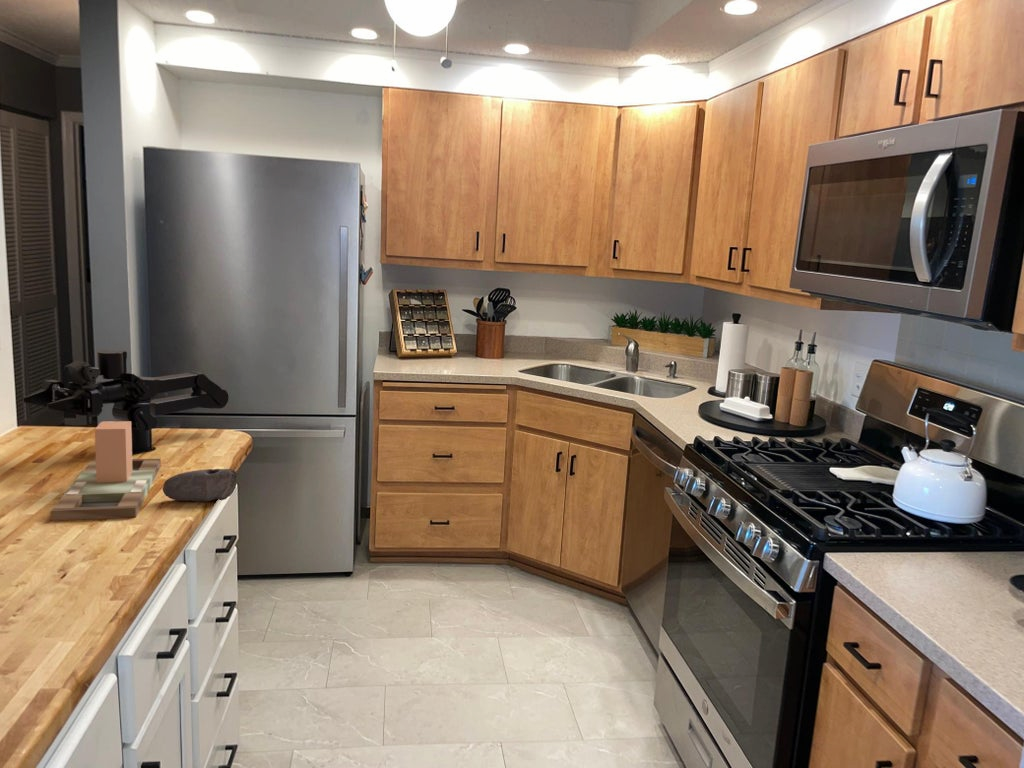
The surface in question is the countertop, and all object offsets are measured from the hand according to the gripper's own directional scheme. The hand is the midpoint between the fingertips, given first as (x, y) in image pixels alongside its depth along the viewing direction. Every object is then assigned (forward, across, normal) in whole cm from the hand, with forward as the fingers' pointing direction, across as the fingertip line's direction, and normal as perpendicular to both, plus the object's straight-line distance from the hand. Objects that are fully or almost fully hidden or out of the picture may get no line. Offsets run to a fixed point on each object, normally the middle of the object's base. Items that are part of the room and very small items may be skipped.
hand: (35, 403), depth 172 cm
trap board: (-2, +23, +16) cm, 28 cm away
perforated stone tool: (-10, +42, +17) cm, 46 cm away
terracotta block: (-5, +20, +15) cm, 26 cm away
